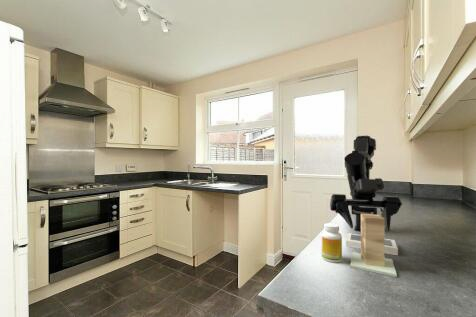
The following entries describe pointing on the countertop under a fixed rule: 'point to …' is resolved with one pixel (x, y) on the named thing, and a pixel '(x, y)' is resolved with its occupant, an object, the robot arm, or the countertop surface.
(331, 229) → the supplement bottle
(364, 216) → the oak post
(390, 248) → the label panel
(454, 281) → the countertop surface
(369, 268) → the mat
